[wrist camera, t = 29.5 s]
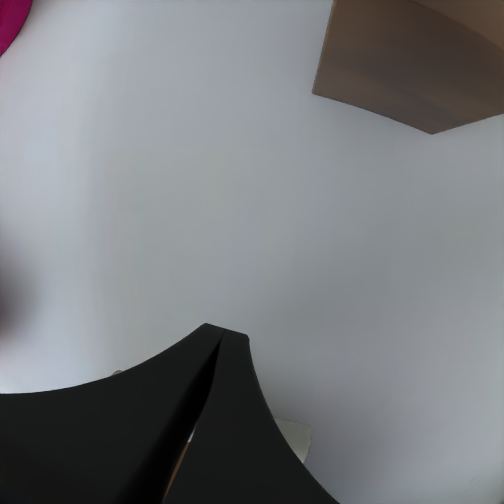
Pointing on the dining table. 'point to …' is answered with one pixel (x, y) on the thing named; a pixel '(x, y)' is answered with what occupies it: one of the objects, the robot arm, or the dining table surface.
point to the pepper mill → (11, 20)
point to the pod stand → (416, 60)
